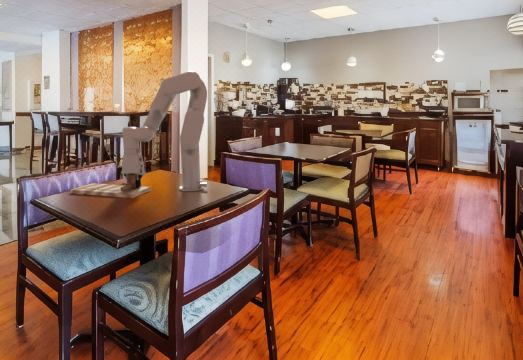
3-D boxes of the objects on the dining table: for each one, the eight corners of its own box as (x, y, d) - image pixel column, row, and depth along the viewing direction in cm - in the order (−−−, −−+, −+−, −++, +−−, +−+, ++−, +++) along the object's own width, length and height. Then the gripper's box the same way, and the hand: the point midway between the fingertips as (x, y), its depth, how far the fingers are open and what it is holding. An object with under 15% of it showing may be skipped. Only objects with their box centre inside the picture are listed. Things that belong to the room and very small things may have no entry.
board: (150, 190, 198) (150, 186, 198) (132, 198, 183) (132, 193, 183) (92, 186, 208) (92, 183, 208) (70, 193, 193) (70, 189, 193)
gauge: (141, 186, 198) (140, 173, 197) (126, 191, 186) (124, 177, 185) (134, 185, 199) (133, 172, 198) (118, 191, 187) (117, 177, 186)
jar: (126, 184, 213) (125, 163, 210) (120, 182, 218) (118, 162, 216) (141, 182, 219) (140, 162, 216) (135, 180, 224) (133, 160, 222)
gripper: (150, 151, 194) (152, 186, 197) (122, 150, 198) (124, 184, 202) (142, 153, 187) (144, 189, 190) (112, 151, 191) (115, 187, 195)
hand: (134, 186), depth 196 cm, fingers closed on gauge, 4 cm apart
